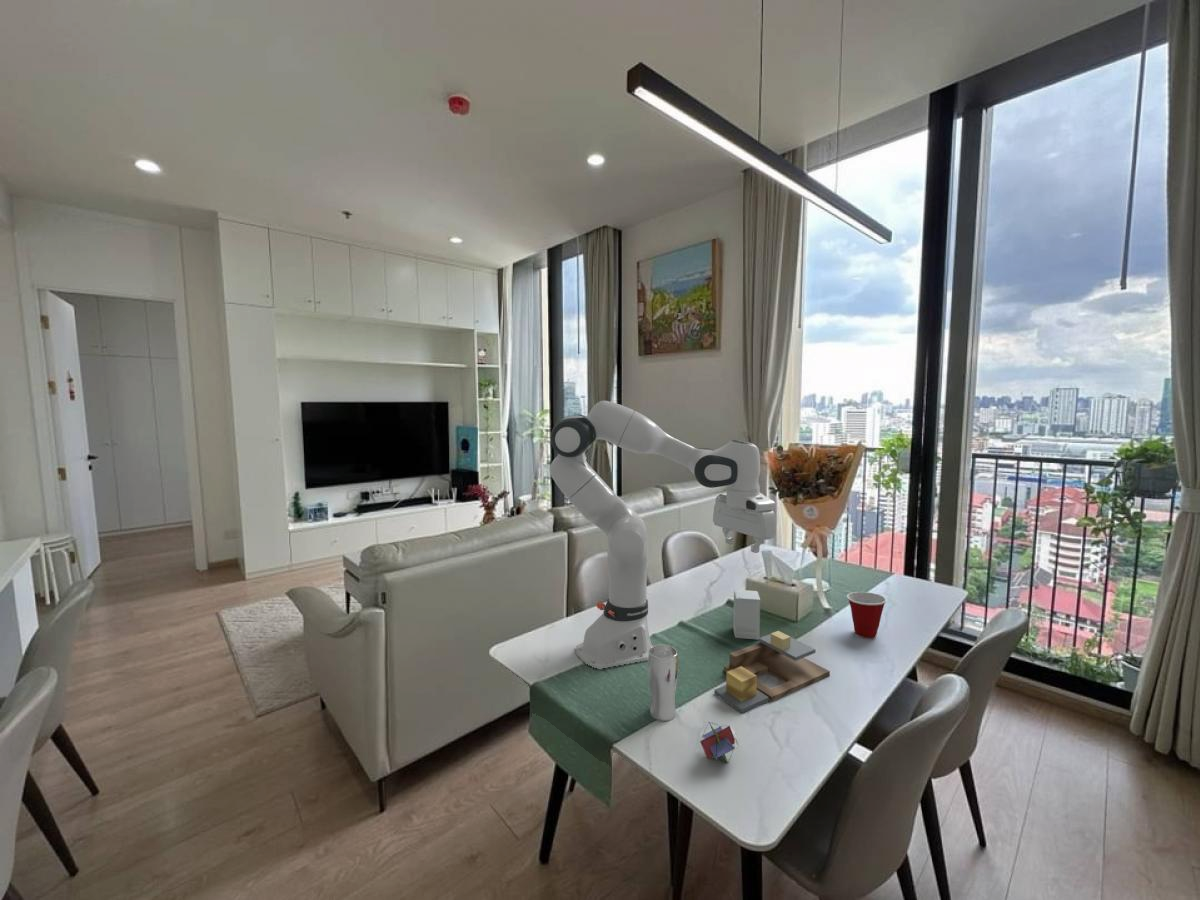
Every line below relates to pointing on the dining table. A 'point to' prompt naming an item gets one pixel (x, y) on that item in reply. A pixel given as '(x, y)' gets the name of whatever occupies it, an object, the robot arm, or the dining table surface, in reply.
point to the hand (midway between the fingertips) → (741, 547)
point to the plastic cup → (866, 612)
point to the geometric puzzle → (719, 742)
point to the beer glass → (663, 681)
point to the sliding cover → (787, 645)
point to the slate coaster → (743, 705)
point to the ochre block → (741, 683)
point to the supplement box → (746, 614)
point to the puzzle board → (776, 669)
